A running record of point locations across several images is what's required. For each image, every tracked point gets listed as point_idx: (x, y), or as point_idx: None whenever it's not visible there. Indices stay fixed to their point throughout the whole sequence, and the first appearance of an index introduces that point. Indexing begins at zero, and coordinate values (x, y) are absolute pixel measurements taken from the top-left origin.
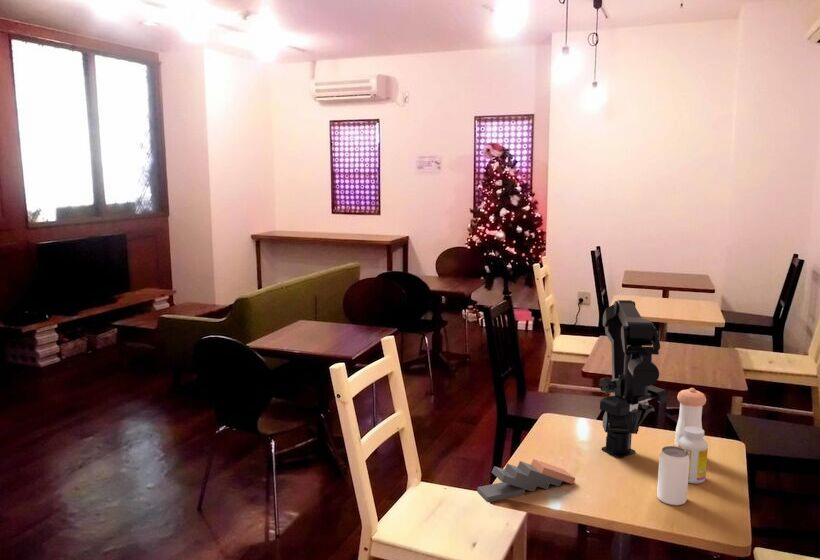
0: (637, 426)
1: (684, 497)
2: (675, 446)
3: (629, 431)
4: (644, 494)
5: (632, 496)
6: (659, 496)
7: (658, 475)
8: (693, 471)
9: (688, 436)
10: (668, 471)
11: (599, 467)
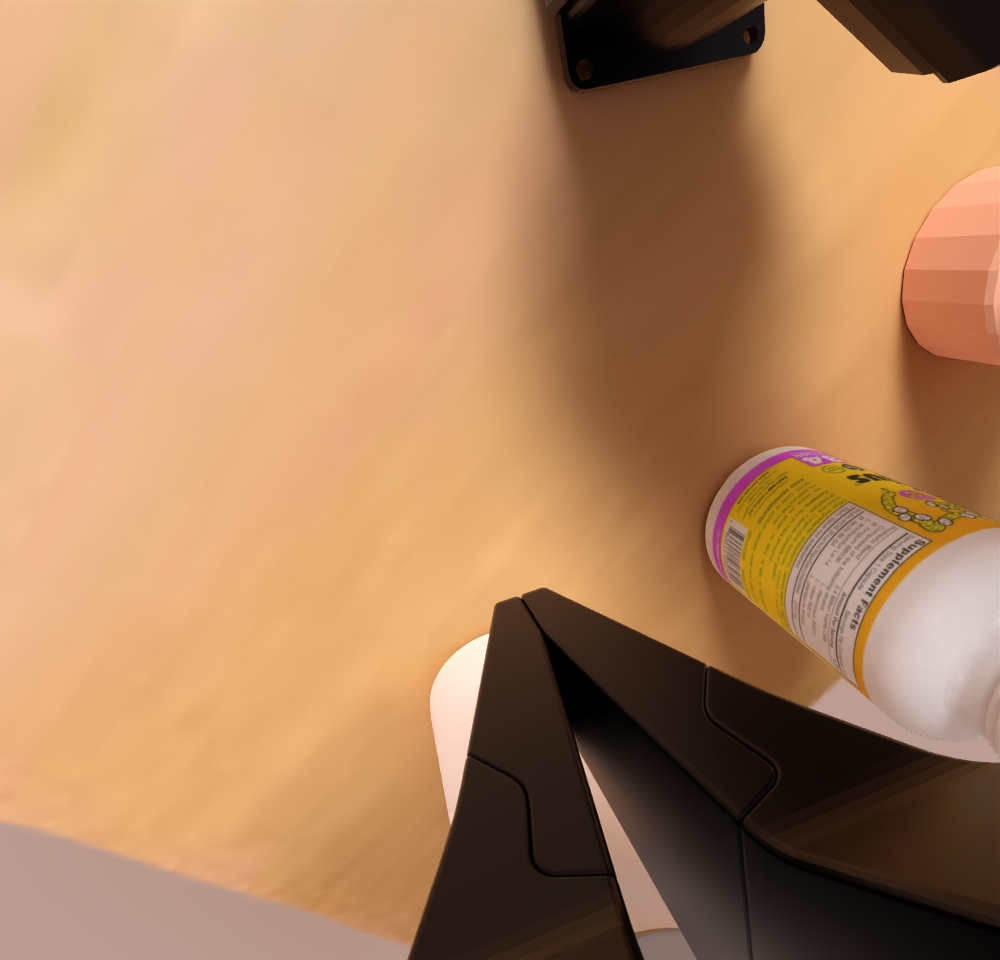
0: (597, 776)
1: None
2: (992, 248)
3: (492, 617)
4: (392, 621)
5: (303, 630)
6: (431, 711)
7: (460, 782)
8: (770, 617)
9: (995, 728)
10: None
11: (297, 177)
